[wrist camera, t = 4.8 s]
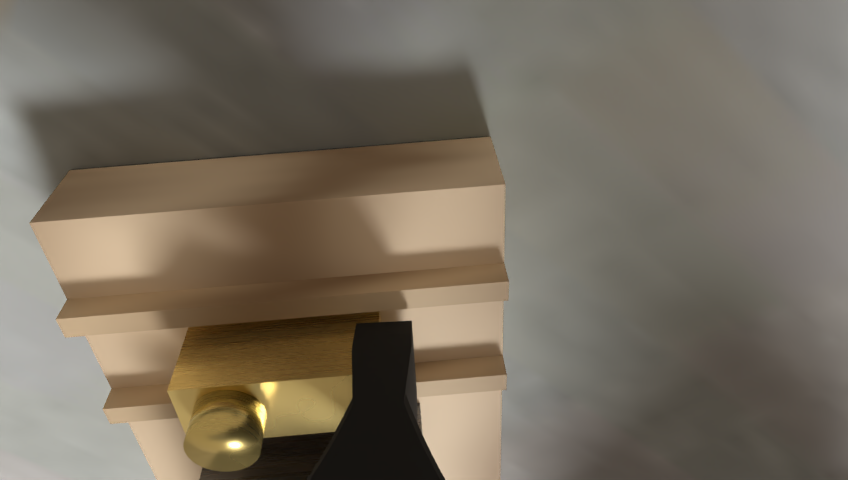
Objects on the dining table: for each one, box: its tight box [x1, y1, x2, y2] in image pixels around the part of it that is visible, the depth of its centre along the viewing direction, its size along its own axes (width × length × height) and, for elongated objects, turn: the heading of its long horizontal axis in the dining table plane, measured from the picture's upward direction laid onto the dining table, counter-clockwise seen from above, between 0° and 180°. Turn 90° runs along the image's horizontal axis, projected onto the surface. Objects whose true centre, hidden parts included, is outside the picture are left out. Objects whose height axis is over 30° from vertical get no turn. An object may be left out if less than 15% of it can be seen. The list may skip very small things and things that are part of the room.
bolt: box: [167, 311, 381, 472], centre depth 13 cm, size 4×2×3 cm, turn 93°
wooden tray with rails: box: [30, 137, 509, 480], centre depth 16 cm, size 9×12×3 cm
